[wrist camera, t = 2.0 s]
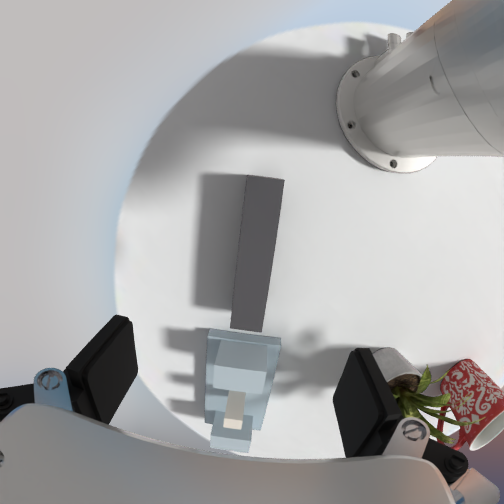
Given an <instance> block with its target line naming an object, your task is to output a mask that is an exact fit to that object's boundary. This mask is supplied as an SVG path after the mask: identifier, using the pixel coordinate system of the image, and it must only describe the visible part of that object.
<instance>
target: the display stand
mask: <svg viewBox="0 0 504 504" xmlns="http://www.w3.org/2000/svg"><path fill="white" fill-rule="evenodd" d="M280 349H281V338H276V337H267V336H259V335H251V334H244V333H236V332H229V331H223V330H216V329H210V331H209V333H208V340H207V361H206V388H205V423H209V424H213V427H212V432H211V440H210V448H216V449H222V450H229V451H237V452H245V453H248V452H249V448H250V443H251V436H252V430H261V427H262V423H263V419H264V415H265V411H266V407H267V403H268V400H269V395H270V391H271V387H272V383H273V379H274V375H275V371H276V366H277V362H278V357H279V353H280Z"/></svg>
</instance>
